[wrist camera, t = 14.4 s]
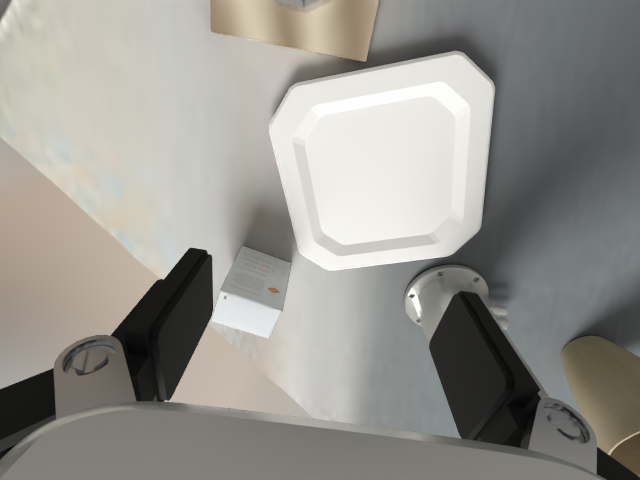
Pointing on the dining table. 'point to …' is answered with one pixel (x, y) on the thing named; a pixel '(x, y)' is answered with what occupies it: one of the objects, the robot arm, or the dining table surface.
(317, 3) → the steel ring collar
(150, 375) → the robot arm
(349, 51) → the fitting board
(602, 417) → the plant pot
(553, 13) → the dining table surface
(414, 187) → the plate
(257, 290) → the small box
